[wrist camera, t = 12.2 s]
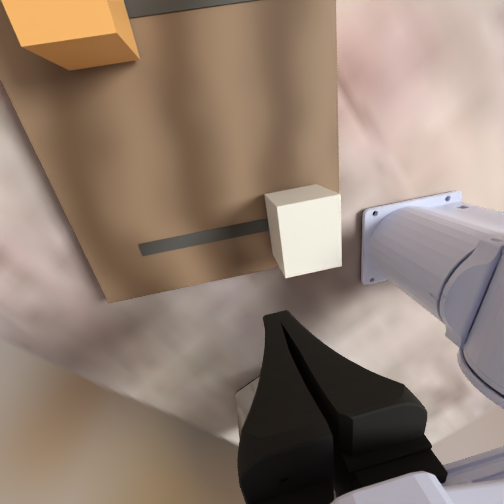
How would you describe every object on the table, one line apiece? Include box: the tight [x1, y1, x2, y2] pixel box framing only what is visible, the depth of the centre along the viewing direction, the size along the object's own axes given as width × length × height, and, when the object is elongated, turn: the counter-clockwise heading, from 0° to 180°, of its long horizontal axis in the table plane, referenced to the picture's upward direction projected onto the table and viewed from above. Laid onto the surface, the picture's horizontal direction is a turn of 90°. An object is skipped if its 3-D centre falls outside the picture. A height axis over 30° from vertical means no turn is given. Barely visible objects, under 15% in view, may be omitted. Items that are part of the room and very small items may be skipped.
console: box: [0, 0, 339, 303], centre depth 18 cm, size 20×23×2 cm
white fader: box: [264, 184, 342, 278], centre depth 18 cm, size 4×5×4 cm
